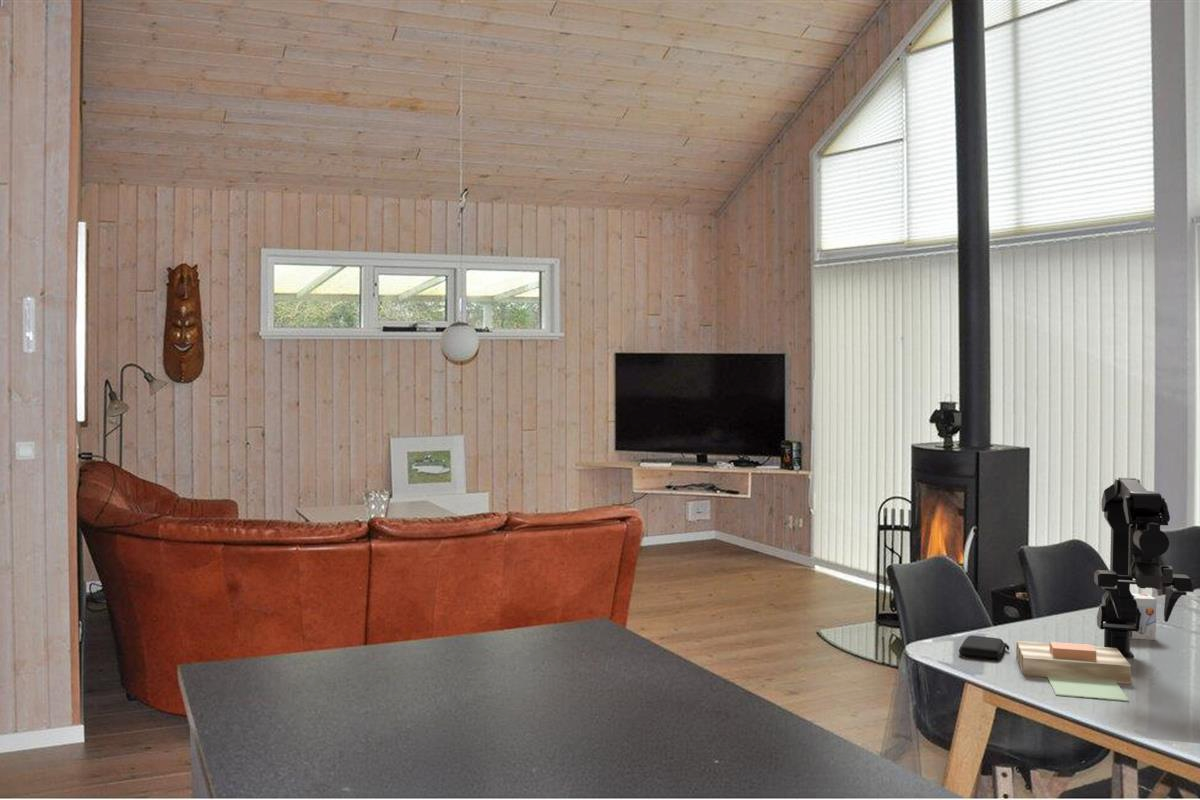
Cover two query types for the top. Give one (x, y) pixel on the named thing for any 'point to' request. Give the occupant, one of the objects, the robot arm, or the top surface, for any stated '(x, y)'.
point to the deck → (1072, 663)
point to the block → (1072, 650)
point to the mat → (1087, 688)
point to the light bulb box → (1145, 617)
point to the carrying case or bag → (983, 648)
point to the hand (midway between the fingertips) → (1142, 619)
